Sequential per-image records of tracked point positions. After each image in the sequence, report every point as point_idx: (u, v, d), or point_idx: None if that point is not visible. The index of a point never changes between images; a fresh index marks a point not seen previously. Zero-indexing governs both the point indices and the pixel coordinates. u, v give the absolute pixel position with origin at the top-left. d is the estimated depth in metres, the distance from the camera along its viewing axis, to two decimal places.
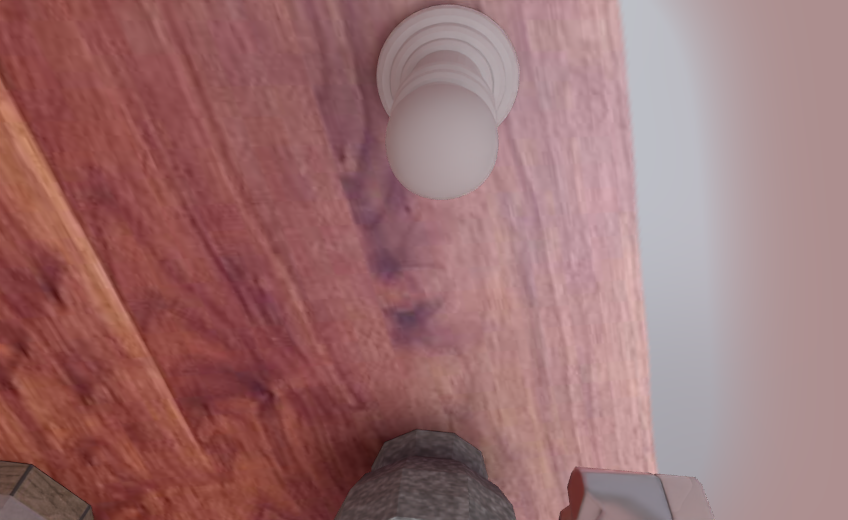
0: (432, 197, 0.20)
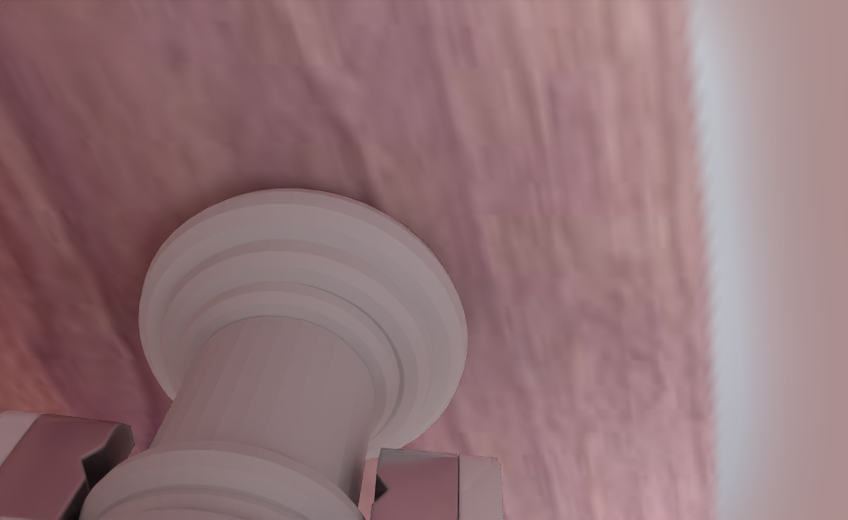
0: None
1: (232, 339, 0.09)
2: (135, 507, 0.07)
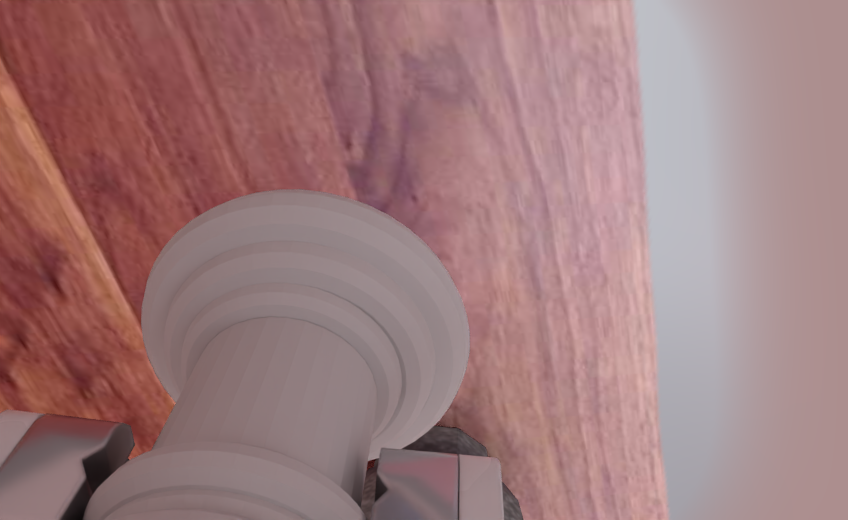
0: None
1: (235, 340, 0.09)
2: (139, 508, 0.07)
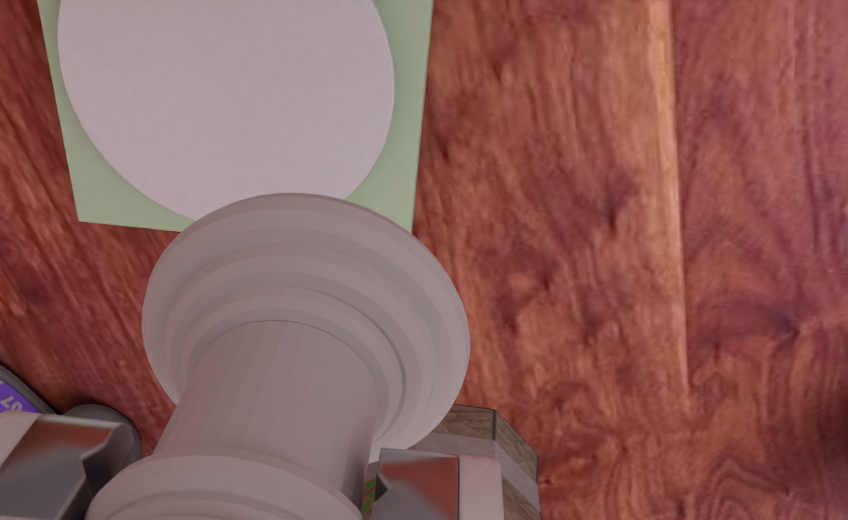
0: None
1: (235, 344, 0.09)
2: (140, 512, 0.07)
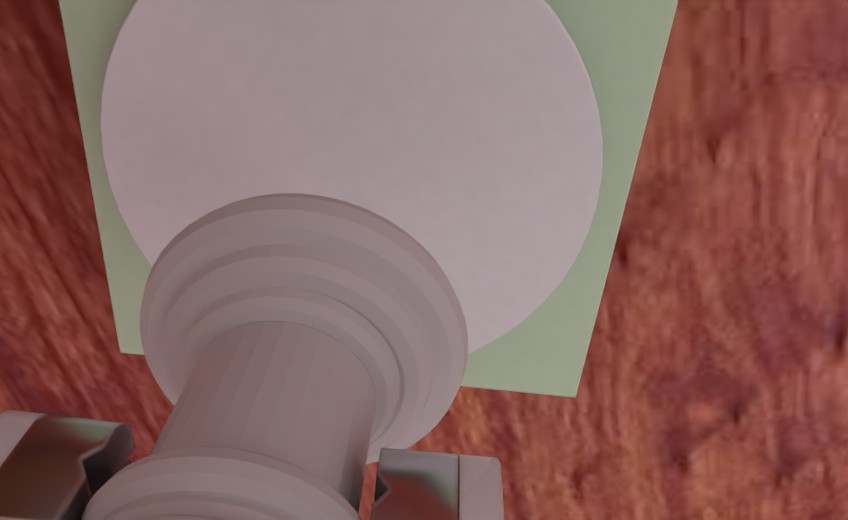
0: None
1: (233, 344, 0.09)
2: (136, 513, 0.07)
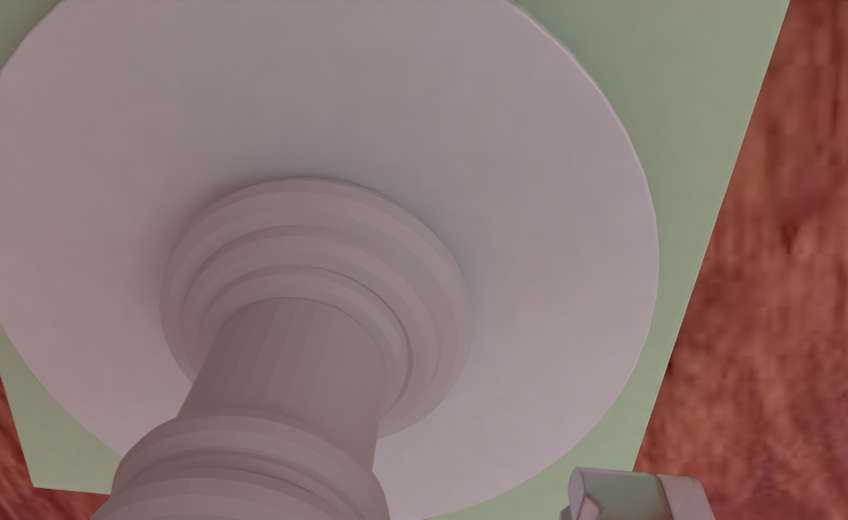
0: None
1: (251, 319, 0.10)
2: (168, 468, 0.07)
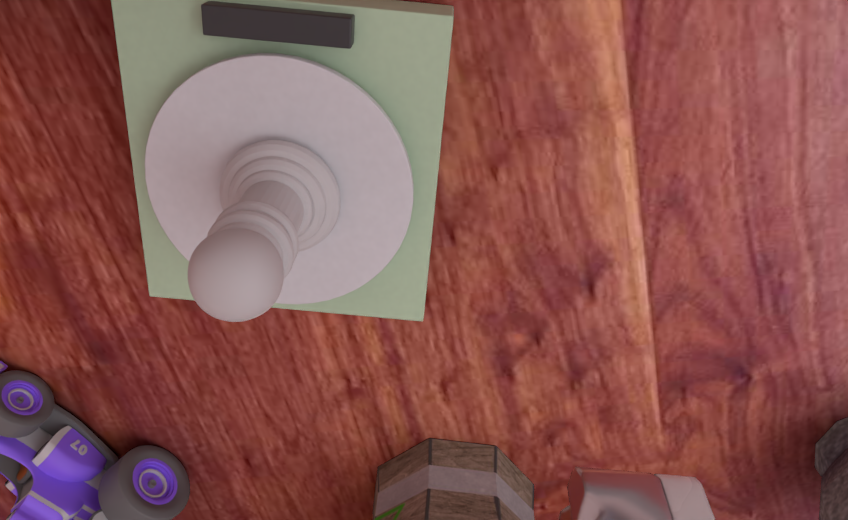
0: (226, 320, 0.24)
1: (255, 186, 0.29)
2: None
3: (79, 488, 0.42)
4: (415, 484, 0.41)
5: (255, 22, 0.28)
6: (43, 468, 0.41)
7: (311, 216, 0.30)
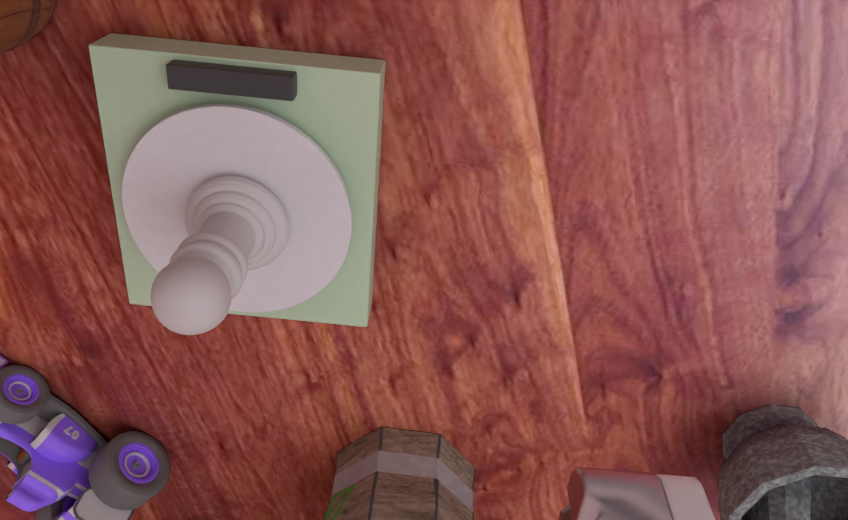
0: None
1: (213, 217, 0.34)
2: None
3: (72, 469, 0.48)
4: (366, 467, 0.46)
5: (211, 79, 0.33)
6: (40, 451, 0.47)
7: (262, 241, 0.35)
